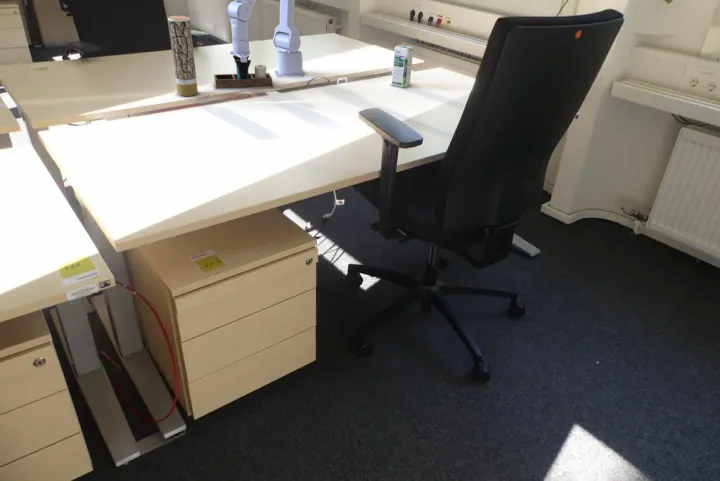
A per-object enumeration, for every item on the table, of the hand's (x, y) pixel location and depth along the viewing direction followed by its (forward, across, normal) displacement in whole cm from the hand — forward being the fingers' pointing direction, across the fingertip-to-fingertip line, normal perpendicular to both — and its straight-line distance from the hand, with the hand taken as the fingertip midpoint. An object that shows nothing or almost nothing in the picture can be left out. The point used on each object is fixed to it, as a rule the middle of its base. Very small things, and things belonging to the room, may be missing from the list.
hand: (242, 77), depth 197 cm
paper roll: (+2, 0, 0) cm, 2 cm away
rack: (+3, 0, 0) cm, 3 cm away
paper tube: (+3, +7, -20) cm, 21 cm away
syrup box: (+3, +6, +60) cm, 60 cm away
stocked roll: (+3, 0, +6) cm, 7 cm away
